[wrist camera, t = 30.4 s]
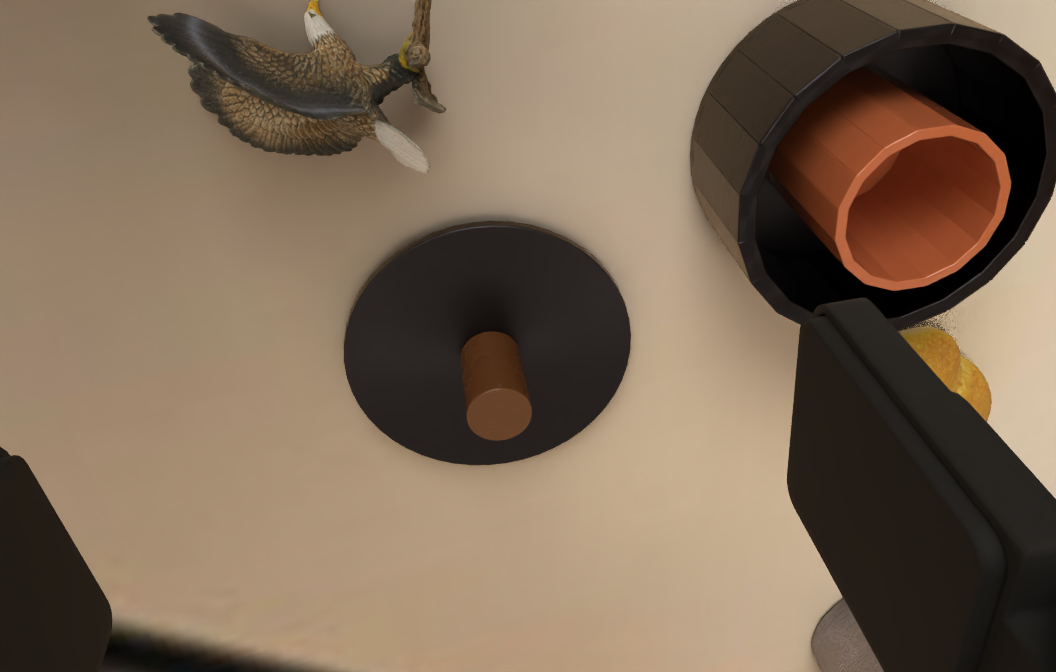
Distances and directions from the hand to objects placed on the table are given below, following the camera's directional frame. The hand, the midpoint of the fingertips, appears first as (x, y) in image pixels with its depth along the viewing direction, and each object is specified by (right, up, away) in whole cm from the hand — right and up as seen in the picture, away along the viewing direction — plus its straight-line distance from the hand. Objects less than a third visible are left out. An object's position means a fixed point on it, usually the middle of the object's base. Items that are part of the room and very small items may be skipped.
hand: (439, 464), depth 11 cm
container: (+14, +10, +27) cm, 32 cm away
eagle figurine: (-7, +12, +23) cm, 27 cm away
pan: (+14, +10, +27) cm, 33 cm away
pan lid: (-1, +1, +31) cm, 31 cm away
